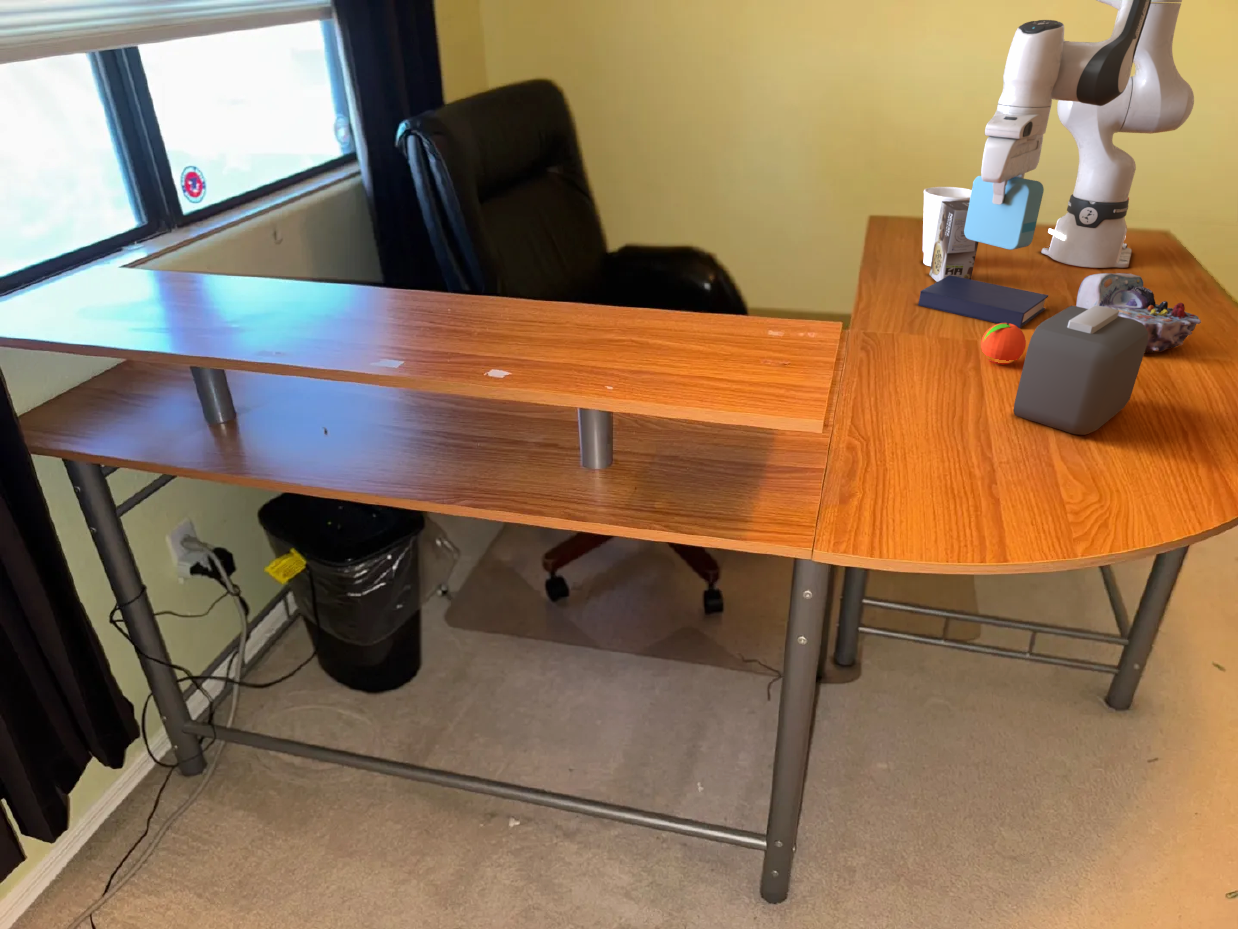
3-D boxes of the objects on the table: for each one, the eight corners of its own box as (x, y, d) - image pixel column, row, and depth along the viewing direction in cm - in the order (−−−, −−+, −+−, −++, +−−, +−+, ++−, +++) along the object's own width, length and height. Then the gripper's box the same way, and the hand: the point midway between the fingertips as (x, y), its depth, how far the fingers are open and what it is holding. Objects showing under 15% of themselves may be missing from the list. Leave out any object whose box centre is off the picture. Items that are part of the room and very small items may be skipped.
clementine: (992, 374, 145) (1001, 333, 142) (963, 359, 151) (971, 319, 147) (1030, 367, 148) (1039, 327, 144) (1000, 353, 153) (1008, 314, 150)
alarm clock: (1055, 388, 140) (1080, 294, 132) (1131, 411, 133) (1162, 312, 125) (1010, 420, 130) (1034, 319, 122) (1089, 446, 123) (1120, 341, 115)
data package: (1031, 248, 165) (1046, 182, 159) (1016, 251, 163) (1031, 184, 157) (976, 234, 174) (989, 171, 168) (962, 238, 171) (974, 174, 166)
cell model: (1121, 261, 164) (1221, 294, 148) (1104, 316, 170) (1199, 354, 154) (1069, 268, 160) (1168, 304, 144) (1054, 325, 165) (1147, 365, 149)
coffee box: (971, 287, 186) (986, 209, 178) (940, 287, 186) (954, 209, 178) (957, 274, 194) (971, 199, 186) (928, 274, 194) (941, 199, 186)
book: (946, 289, 185) (949, 275, 183) (1045, 309, 173) (1048, 295, 172) (918, 305, 176) (920, 290, 174) (1019, 328, 164) (1023, 313, 163)
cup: (908, 255, 207) (919, 185, 199) (960, 257, 206) (974, 187, 198) (916, 269, 197) (928, 196, 189) (971, 272, 195) (986, 198, 188)
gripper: (1022, 114, 166) (1007, 189, 173) (982, 126, 153) (966, 207, 159) (1057, 117, 163) (1040, 194, 169) (1019, 129, 149) (1001, 212, 156)
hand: (1004, 200), depth 164 cm, fingers closed on data package, 5 cm apart
